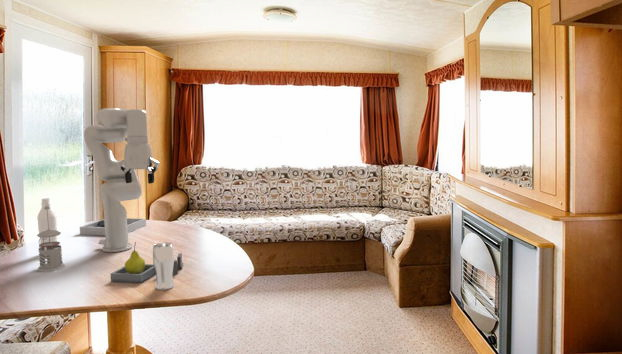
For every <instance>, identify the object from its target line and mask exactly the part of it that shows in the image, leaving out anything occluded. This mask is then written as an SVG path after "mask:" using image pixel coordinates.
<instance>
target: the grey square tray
mask: <svg viewBox="0 0 622 354" xmlns="http://www.w3.org/2000/svg"><path fill="white" fill-rule="evenodd" d="M153 276H156V272H155V268H154V263H152V264H151V263H145V268H144V270H143V271H142V272H141V273H140V274H129V273H128V272H127V271H126V269H125V265H124V266H122V267H120V268H118V269H117V270H115V271H113V272H111V273H110V283H127V284H129V283H130V284H144V283H145V282H146V281H148V280H149V279H151V278H152V277H153Z"/></svg>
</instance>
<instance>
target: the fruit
mask: <svg viewBox="0 0 622 354" xmlns="http://www.w3.org/2000/svg"><path fill="white" fill-rule="evenodd" d="M136 243H137V242H135V243H134V247H133V251H132V252H131V253H130V257H129V258H128V259H127V260H126V261H125V263H124V266H125V269H126V271H127V272H128V273H129V274H140V273H141V272H142V271H143V270H144V268H145V264H146V262H145V259H144V258H143V257H141V256H140V254H139V252H138V251H137V250H135V249H136V246H137V245H136Z"/></svg>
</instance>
